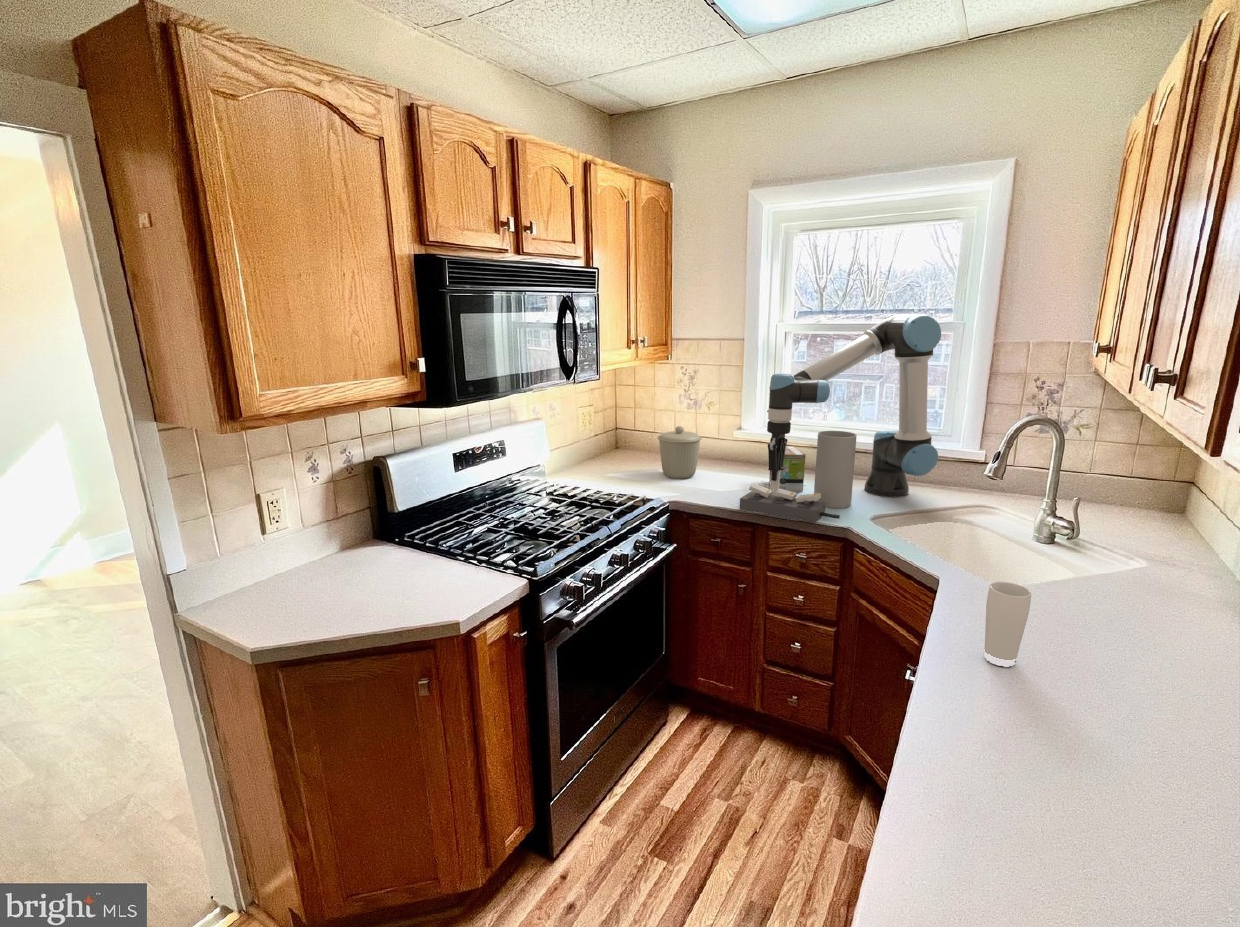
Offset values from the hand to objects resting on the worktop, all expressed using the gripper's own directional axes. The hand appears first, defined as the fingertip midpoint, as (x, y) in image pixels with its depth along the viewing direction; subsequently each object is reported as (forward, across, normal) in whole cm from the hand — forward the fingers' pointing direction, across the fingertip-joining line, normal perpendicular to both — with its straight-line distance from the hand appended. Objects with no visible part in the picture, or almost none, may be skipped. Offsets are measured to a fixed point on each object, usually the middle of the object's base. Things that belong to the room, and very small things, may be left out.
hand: (774, 488), depth 208 cm
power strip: (+7, +2, +7) cm, 10 cm away
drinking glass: (+6, +69, +70) cm, 98 cm away
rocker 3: (+2, 0, +12) cm, 12 cm away
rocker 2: (+2, 0, +4) cm, 4 cm away
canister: (+8, -22, -48) cm, 54 cm away
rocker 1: (+2, 0, -5) cm, 6 cm away
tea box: (+7, -29, -6) cm, 31 cm away
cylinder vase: (+7, -16, +16) cm, 23 cm away
